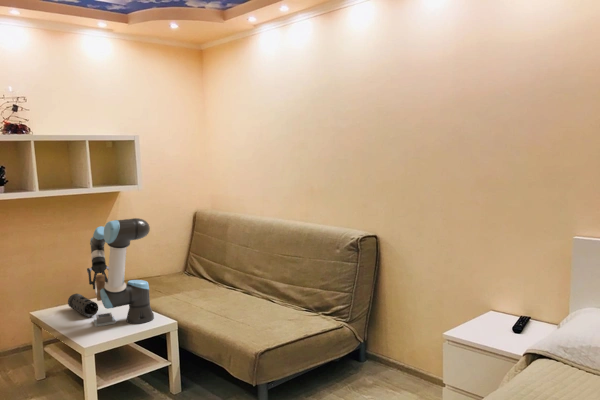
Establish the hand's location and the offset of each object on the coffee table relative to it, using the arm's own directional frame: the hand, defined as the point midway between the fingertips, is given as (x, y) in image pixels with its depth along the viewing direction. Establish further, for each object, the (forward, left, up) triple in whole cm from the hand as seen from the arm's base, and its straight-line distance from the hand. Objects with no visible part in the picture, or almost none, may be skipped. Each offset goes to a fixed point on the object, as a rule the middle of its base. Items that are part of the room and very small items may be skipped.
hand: (101, 293), depth 281 cm
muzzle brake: (+28, -14, -18) cm, 36 cm away
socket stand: (+2, -3, -18) cm, 18 cm away
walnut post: (+3, -3, -5) cm, 6 cm away
